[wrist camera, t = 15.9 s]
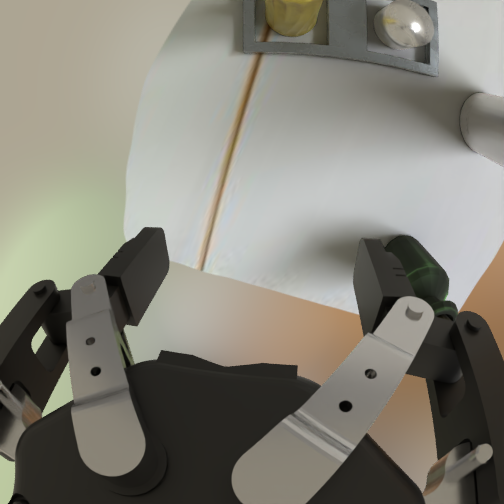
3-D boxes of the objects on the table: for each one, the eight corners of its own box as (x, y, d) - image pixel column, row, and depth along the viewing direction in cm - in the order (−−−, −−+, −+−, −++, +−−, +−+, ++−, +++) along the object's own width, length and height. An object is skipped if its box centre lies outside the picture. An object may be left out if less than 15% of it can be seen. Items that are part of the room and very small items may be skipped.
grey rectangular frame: (431, 4, 22) (449, -3, 18) (432, 76, 28) (451, 77, 23) (244, -23, 24) (239, -37, 20) (244, 53, 30) (239, 48, 25)
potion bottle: (433, 250, 41) (484, 331, 25) (397, 283, 44) (432, 371, 29) (404, 219, 39) (460, 300, 23) (366, 256, 42) (399, 349, 27)
